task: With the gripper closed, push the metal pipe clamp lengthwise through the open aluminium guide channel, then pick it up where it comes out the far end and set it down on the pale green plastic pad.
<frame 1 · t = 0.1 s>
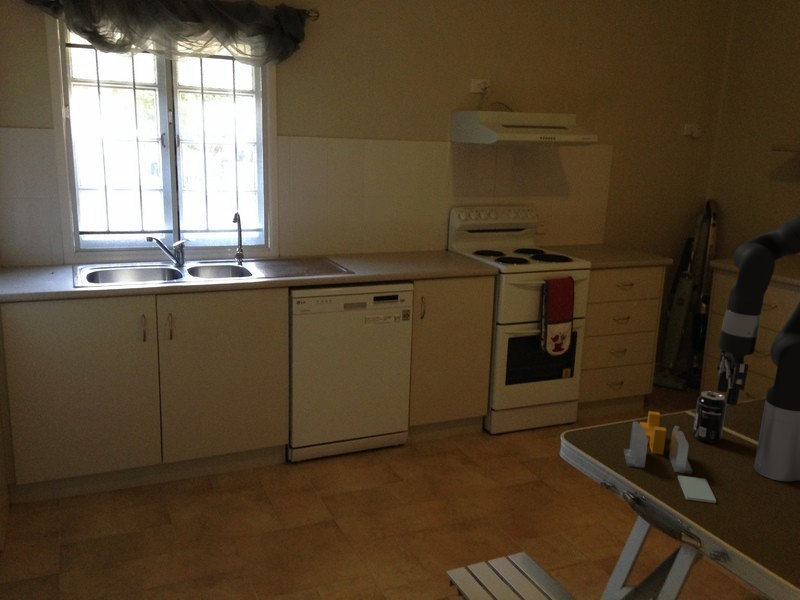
hand: (726, 397, 166), 17 cm above the table, tool pointing down, fingers open, 8 cm apart
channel: (656, 462, 171), on the table
pad: (696, 490, 158), on the table
pipe clamp: (650, 444, 181), on the table
beverage can: (706, 439, 185), on the table
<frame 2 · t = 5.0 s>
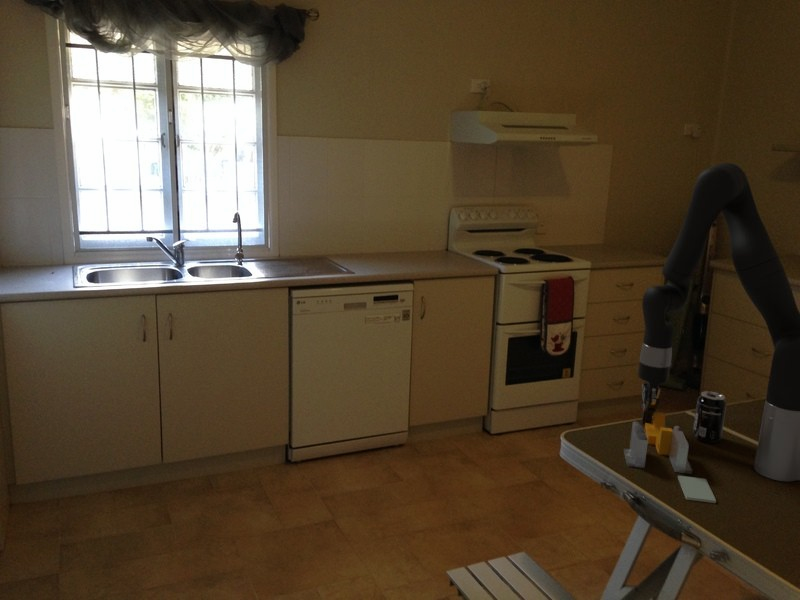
hand: (646, 423, 188), 2 cm above the table, tool pointing down, fingers closed
pipe clamp: (656, 445, 181), on the table
everything else where it was.
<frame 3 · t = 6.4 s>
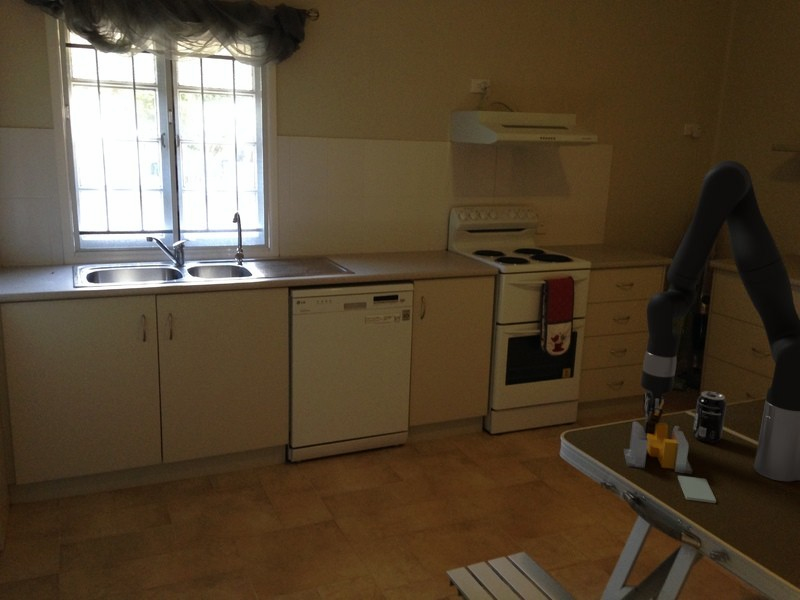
hand: (648, 434, 181), 2 cm above the table, tool pointing down, fingers closed
pipe clamp: (658, 457, 174), on the table, touching gripper
everything else where it was.
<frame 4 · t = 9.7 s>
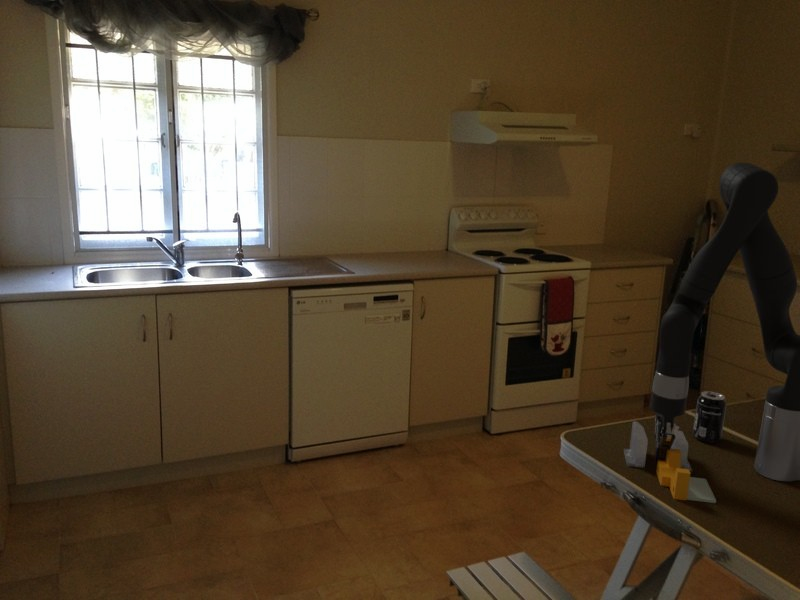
hand: (659, 461, 167), 2 cm above the table, tool pointing down, fingers closed
pipe clamp: (670, 487, 160), on the table, touching gripper
everything else where it was.
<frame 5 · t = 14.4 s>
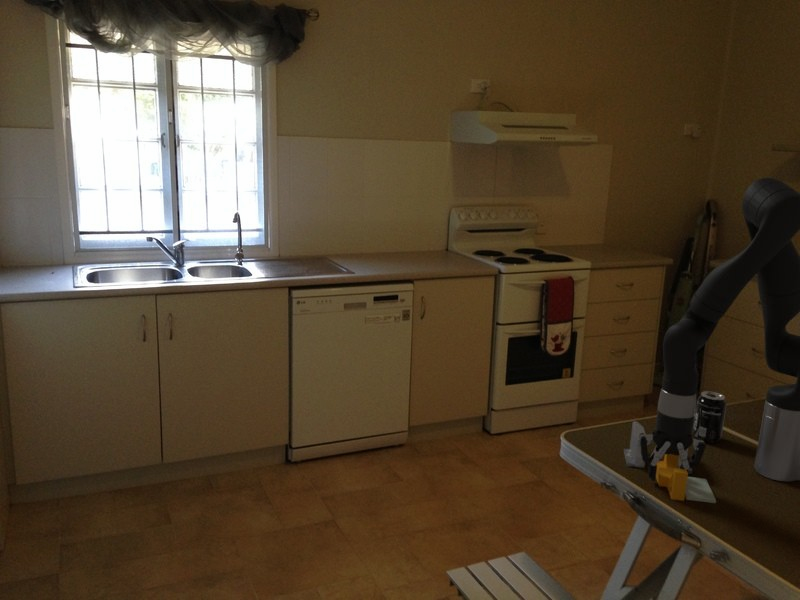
hand: (666, 480, 160), 1 cm above the table, tool pointing down, fingers open, 5 cm apart
pipe clamp: (668, 487, 160), on the table
everything else where it was.
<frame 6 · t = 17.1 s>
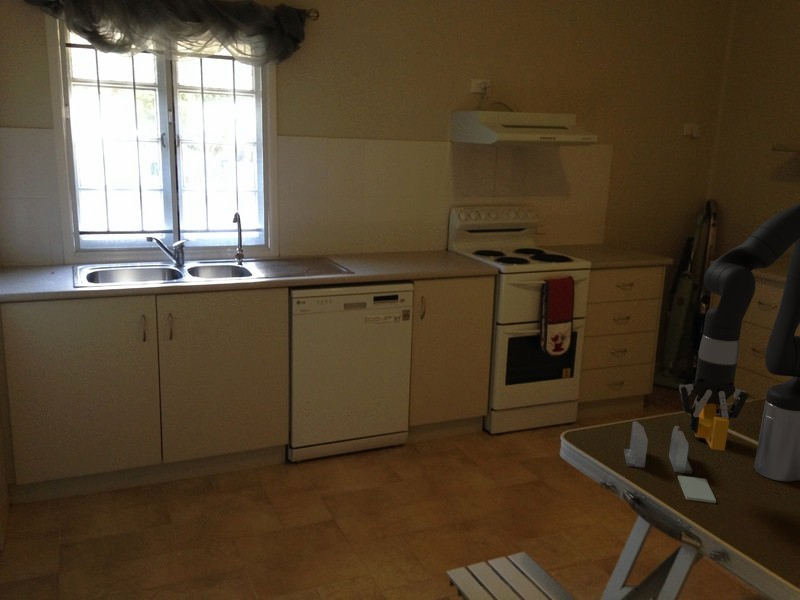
hand: (706, 432, 155), 14 cm above the table, tool pointing down, fingers closed on pipe clamp, 4 cm apart
pipe clamp: (706, 438, 154), point 13 cm above the table, touching gripper
everything else where it was.
when the fingers open (3 cm above the table, at t = 19.3 s): pipe clamp drops 1 cm, resting on pad.
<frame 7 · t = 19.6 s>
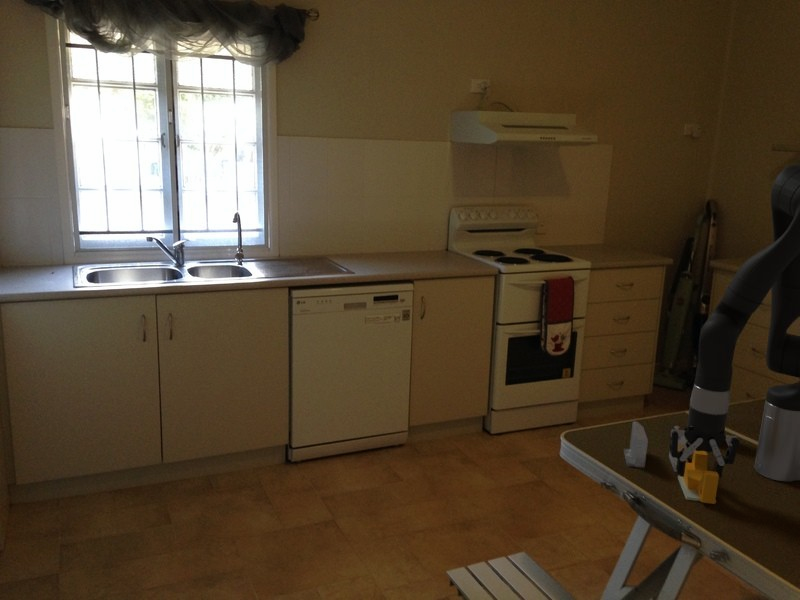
hand: (698, 476, 157), 3 cm above the table, tool pointing down, fingers open, 6 cm apart
pipe clamp: (697, 489, 158), resting on pad
everything else where it was.
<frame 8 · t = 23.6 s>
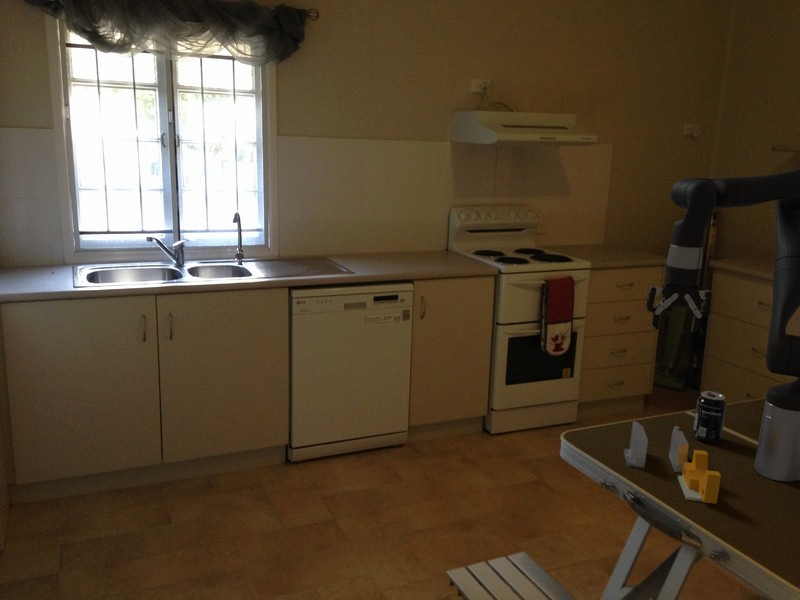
hand: (674, 330, 173), 30 cm above the table, tool pointing down, fingers open, 8 cm apart
nothing on the table moved.
at the end: pipe clamp inside the target area on the pad (0.6 cm from its centre), point 0.4 cm above the pad's base; the gripper is holding nothing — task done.
